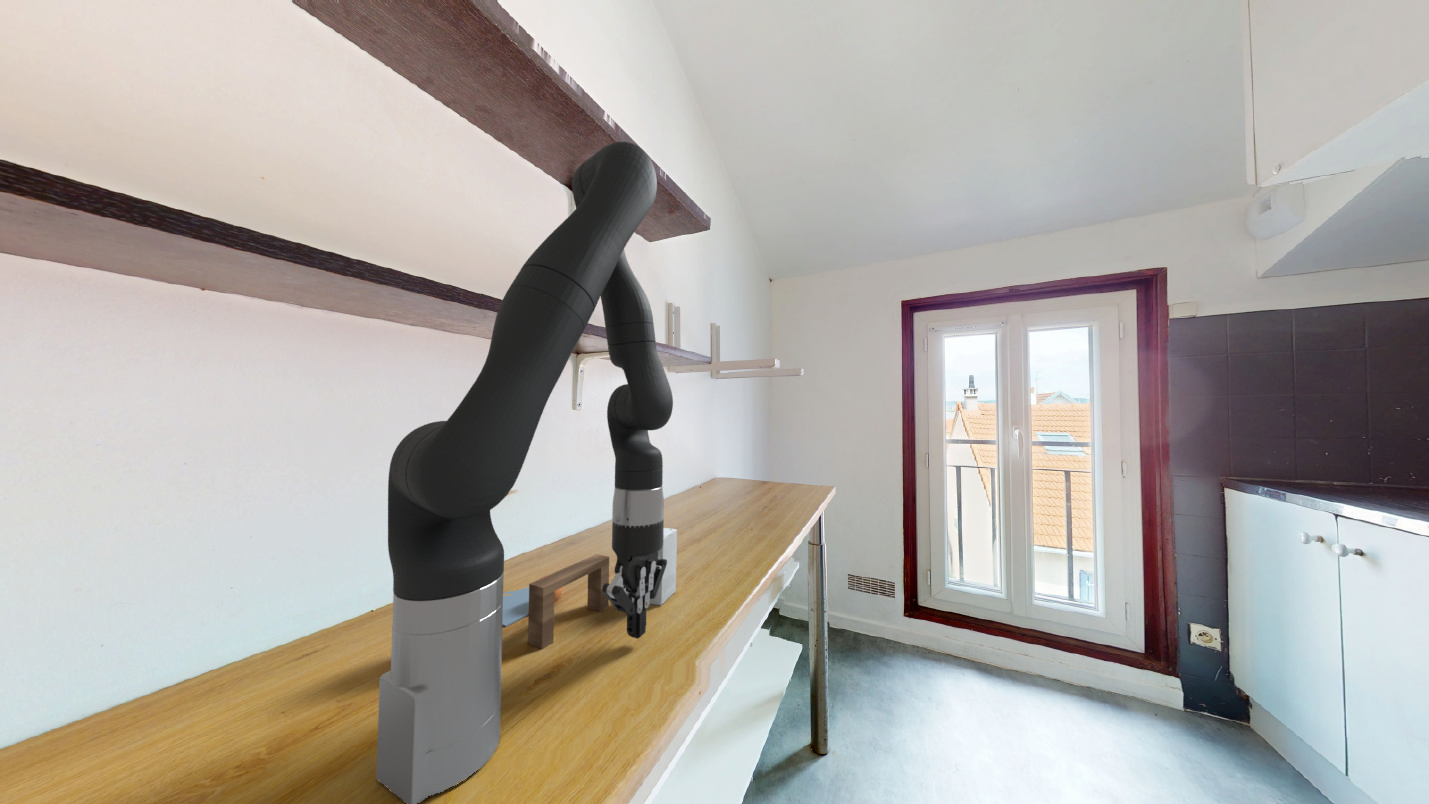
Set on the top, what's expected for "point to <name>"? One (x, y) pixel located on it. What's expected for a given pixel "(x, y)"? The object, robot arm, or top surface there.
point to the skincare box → (667, 567)
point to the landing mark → (515, 606)
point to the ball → (556, 593)
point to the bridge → (545, 587)
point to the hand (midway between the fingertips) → (636, 634)
